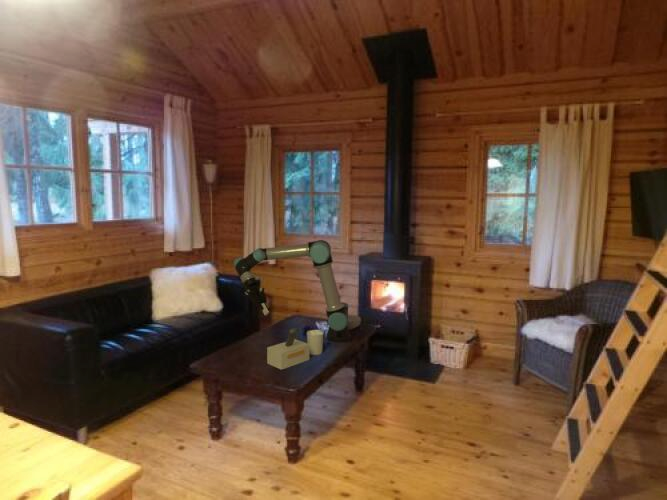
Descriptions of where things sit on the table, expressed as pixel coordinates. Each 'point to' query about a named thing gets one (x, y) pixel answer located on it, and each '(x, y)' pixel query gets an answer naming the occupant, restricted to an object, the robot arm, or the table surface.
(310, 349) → the candle holder
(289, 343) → the lever
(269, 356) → the beige rectangular box
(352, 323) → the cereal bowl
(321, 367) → the table surface
